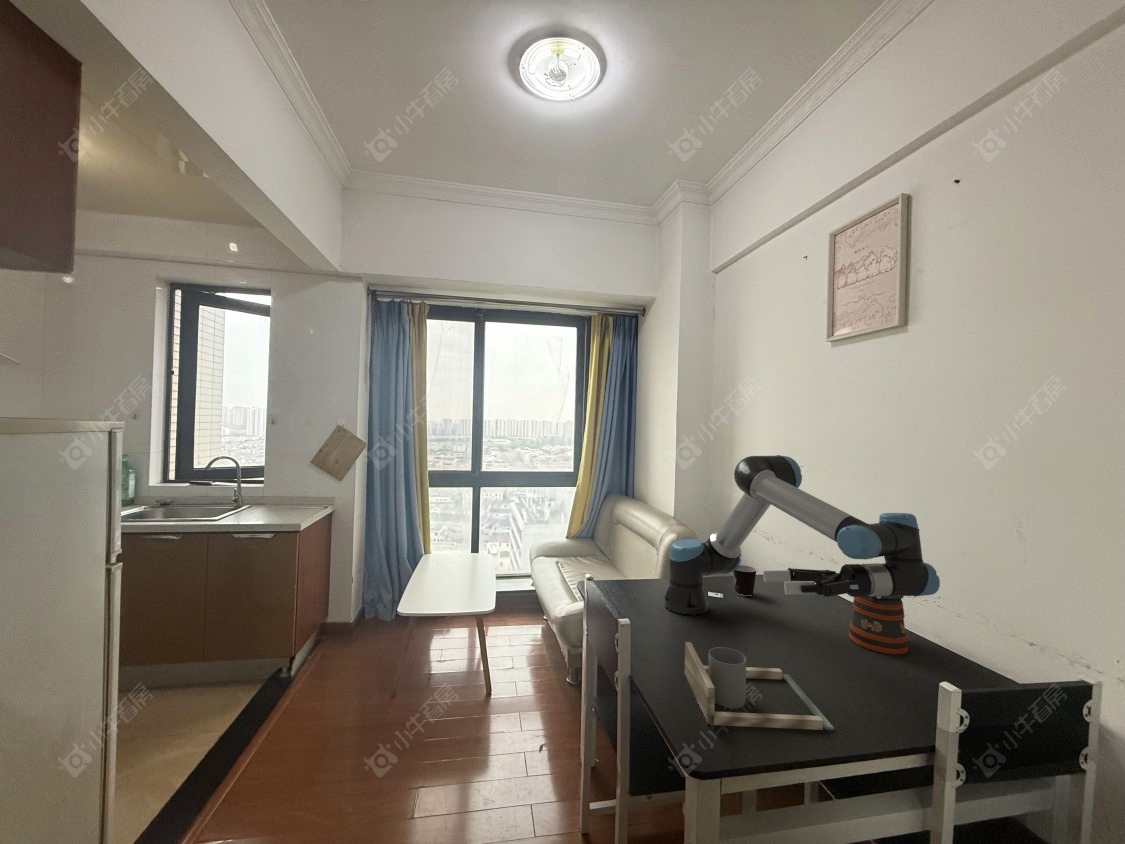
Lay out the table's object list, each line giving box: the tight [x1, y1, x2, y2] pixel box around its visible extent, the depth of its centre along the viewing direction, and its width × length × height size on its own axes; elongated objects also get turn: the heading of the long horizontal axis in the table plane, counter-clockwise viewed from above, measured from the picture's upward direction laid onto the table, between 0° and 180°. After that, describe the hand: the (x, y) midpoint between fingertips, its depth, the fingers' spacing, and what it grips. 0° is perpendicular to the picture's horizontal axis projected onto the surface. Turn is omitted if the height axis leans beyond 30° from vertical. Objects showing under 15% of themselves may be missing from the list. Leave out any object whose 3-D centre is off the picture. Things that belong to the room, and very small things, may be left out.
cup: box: [707, 646, 747, 710], centre depth 108 cm, size 8×8×10 cm
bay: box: [684, 641, 835, 731], centre depth 108 cm, size 27×21×8 cm
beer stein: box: [848, 596, 909, 656], centre depth 140 cm, size 19×15×20 cm
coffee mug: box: [732, 564, 757, 596], centre depth 179 cm, size 12×9×10 cm
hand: (773, 581), depth 112 cm, fingers open, 13 cm apart
